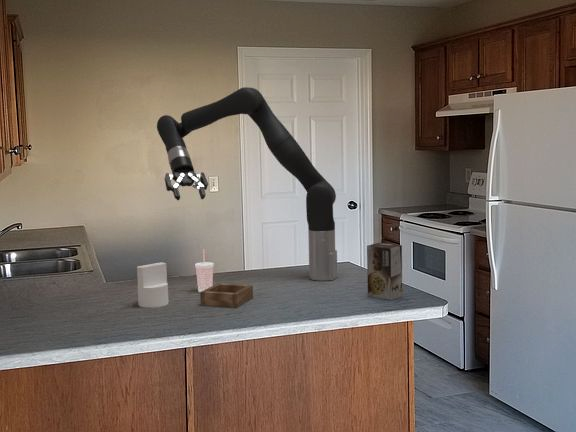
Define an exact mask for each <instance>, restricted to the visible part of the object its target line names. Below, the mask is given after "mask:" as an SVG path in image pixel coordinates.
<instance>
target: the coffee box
mask: <svg viewBox="0 0 576 432" xmlns="http://www.w3.org/2000/svg"><path fill="white" fill-rule="evenodd" d="M366 265H367V267H366V268H367V272H366V273H367V297H370V298H376V299H382V300H387V301H393V300H396V299H399V298H403V245H402V244H396V243H395V244H393V243H385V242H375V243H372V244H370V245H367V246H366Z"/></svg>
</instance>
